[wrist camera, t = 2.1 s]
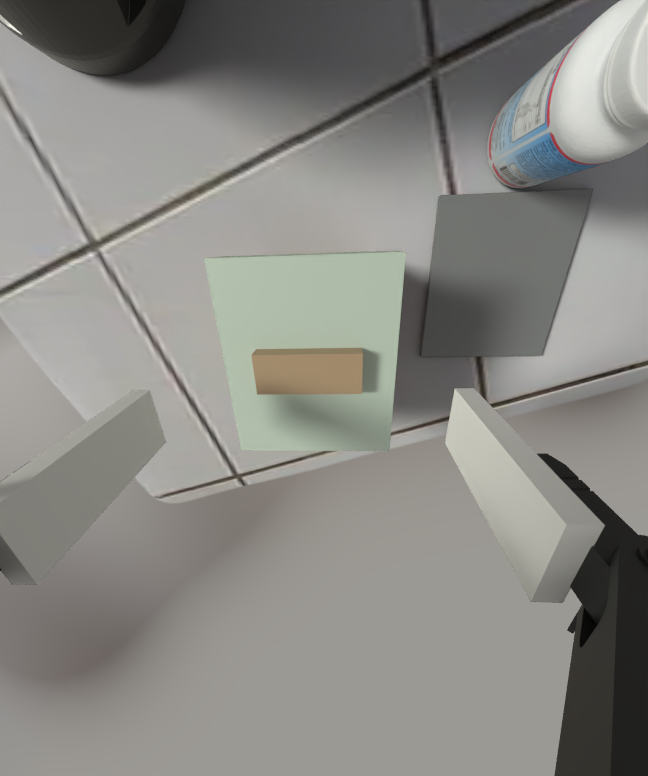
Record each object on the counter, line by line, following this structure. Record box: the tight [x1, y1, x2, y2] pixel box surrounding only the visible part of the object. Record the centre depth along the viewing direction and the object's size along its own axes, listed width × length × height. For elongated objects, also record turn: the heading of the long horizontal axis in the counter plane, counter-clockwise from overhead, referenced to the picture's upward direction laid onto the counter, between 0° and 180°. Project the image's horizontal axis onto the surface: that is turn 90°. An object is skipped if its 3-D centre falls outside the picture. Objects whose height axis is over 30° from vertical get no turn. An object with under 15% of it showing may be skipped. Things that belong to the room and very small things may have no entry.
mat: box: [420, 189, 593, 357], centre depth 25 cm, size 13×11×1 cm
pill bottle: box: [487, 0, 648, 188], centre depth 16 cm, size 6×6×11 cm
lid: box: [204, 251, 406, 451], centre depth 18 cm, size 12×10×4 cm
